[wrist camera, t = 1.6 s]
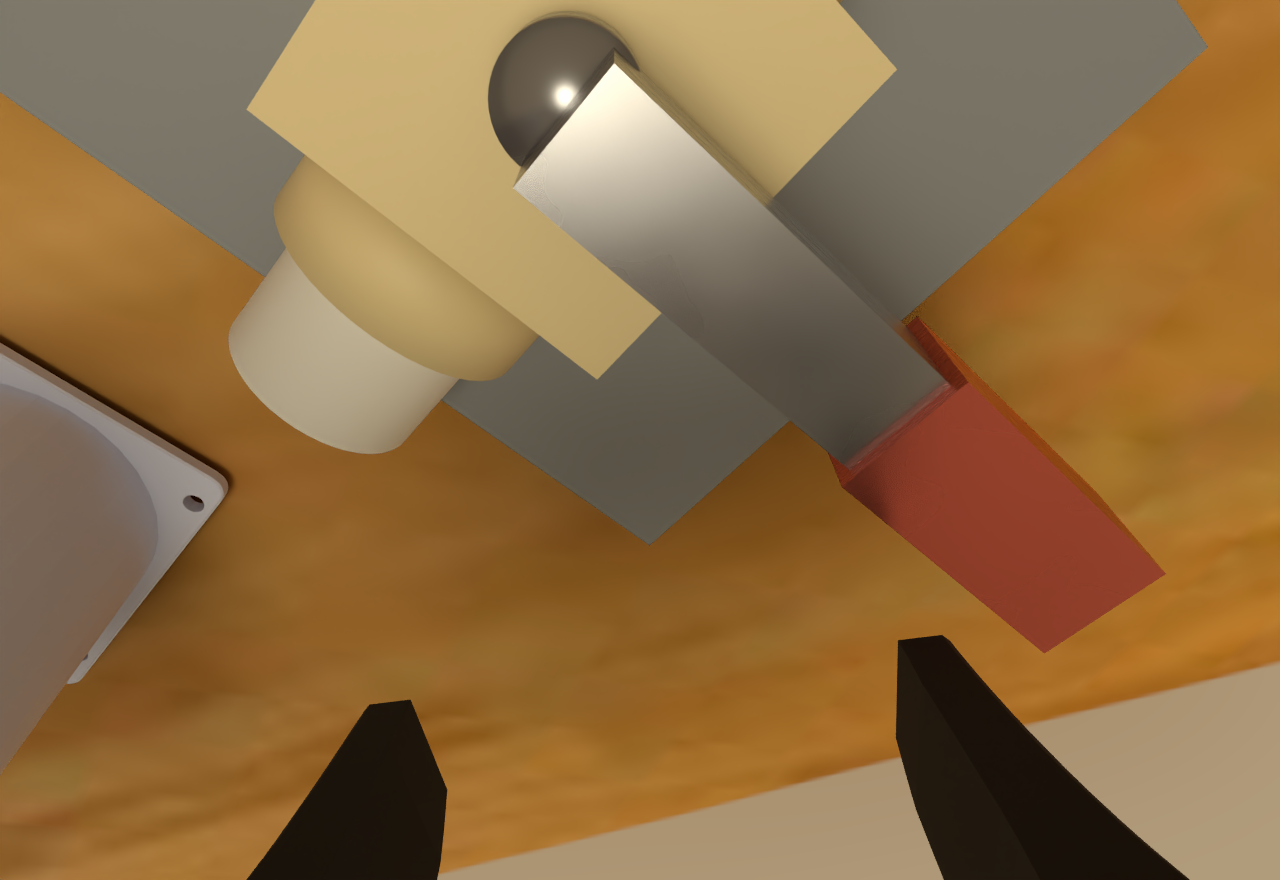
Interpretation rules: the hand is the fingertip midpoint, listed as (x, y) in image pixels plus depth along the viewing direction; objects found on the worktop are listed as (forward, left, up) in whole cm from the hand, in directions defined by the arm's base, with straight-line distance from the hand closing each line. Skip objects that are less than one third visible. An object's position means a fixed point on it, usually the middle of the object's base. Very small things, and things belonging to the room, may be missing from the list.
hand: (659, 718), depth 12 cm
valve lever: (+5, +1, -4) cm, 6 cm away
